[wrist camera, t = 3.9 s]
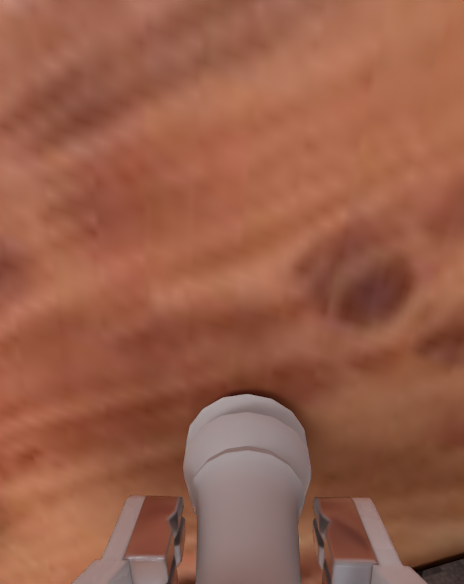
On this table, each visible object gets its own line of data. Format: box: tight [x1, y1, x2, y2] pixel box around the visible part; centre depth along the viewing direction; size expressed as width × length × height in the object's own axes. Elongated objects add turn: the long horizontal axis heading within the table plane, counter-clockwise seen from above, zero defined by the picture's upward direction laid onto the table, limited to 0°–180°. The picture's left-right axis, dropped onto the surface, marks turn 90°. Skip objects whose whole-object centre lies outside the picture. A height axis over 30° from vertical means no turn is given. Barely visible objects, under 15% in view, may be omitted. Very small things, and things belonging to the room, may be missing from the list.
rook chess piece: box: [183, 394, 311, 584], centre depth 7 cm, size 4×4×8 cm
